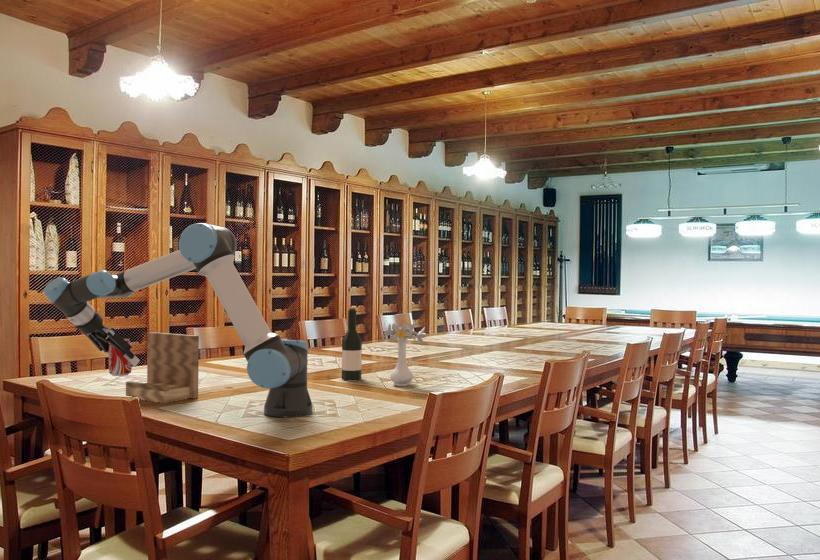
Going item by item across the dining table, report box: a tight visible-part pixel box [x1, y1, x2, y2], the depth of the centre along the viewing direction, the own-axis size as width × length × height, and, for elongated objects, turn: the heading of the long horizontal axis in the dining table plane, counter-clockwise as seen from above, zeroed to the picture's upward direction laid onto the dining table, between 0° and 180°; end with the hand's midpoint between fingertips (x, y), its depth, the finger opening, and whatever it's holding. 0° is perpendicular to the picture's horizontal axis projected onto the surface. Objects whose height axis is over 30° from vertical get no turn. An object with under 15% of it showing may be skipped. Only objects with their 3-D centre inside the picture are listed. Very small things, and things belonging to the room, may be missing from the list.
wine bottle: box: [341, 307, 363, 381], centre depth 269 cm, size 8×8×30 cm
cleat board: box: [125, 331, 200, 404], centre depth 224 cm, size 24×12×22 cm, turn 61°
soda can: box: [108, 338, 133, 377], centre depth 216 cm, size 7×7×12 cm
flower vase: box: [381, 322, 427, 387], centre depth 257 cm, size 13×18×25 cm
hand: (129, 362), depth 219 cm, fingers closed on soda can, 7 cm apart
